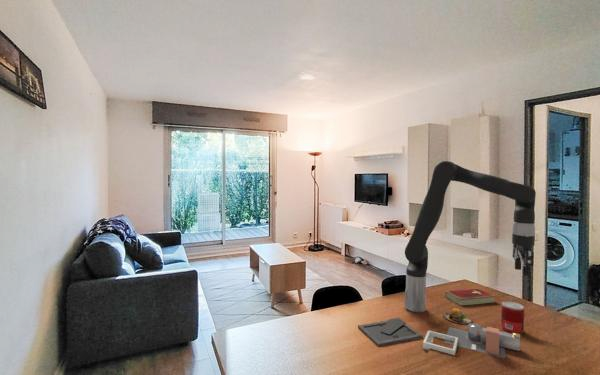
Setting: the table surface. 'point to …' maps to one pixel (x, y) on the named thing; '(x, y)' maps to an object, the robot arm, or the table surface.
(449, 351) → the tray
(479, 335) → the crank
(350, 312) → the table surface
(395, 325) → the picture frame
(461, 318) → the burger
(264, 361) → the table surface
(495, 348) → the block
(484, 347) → the crank plate
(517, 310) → the canned food
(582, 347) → the table surface
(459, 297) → the hardcover book
